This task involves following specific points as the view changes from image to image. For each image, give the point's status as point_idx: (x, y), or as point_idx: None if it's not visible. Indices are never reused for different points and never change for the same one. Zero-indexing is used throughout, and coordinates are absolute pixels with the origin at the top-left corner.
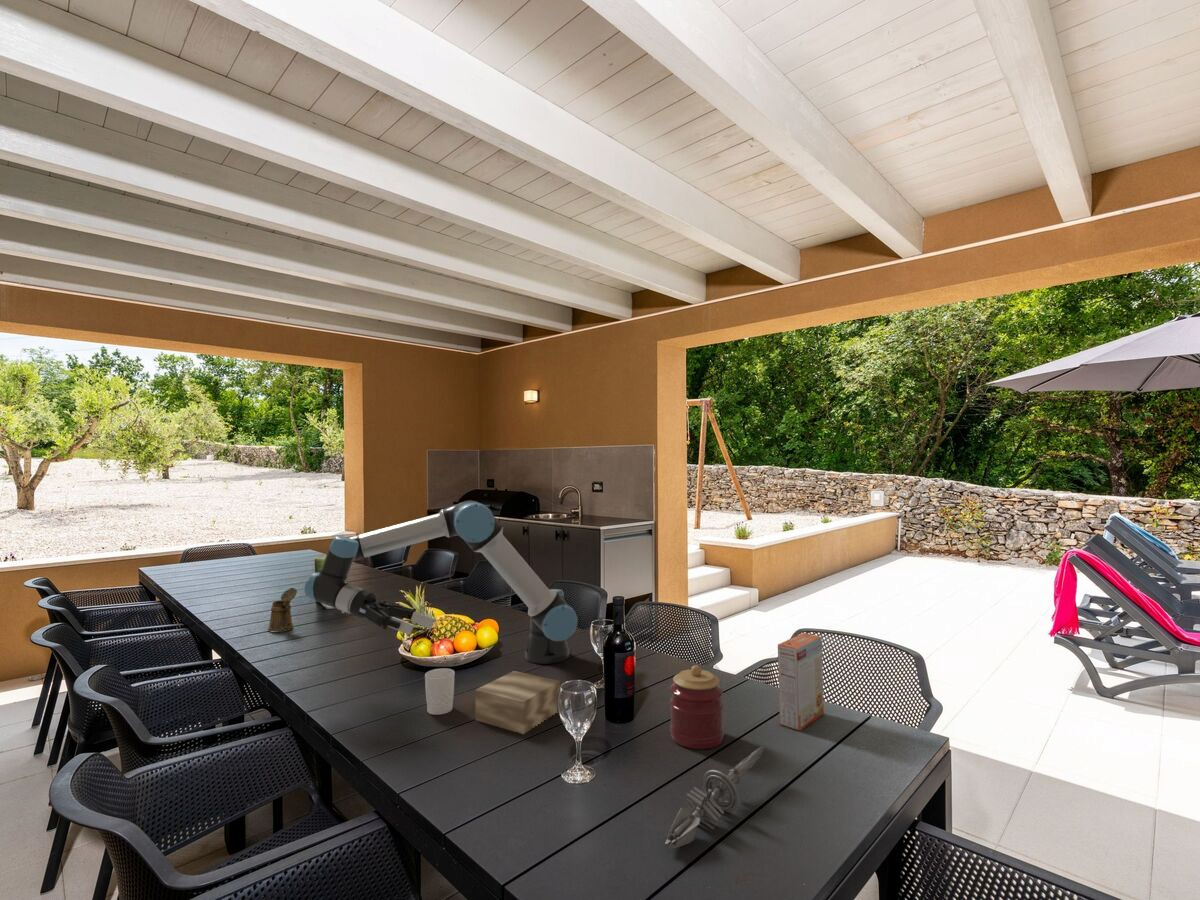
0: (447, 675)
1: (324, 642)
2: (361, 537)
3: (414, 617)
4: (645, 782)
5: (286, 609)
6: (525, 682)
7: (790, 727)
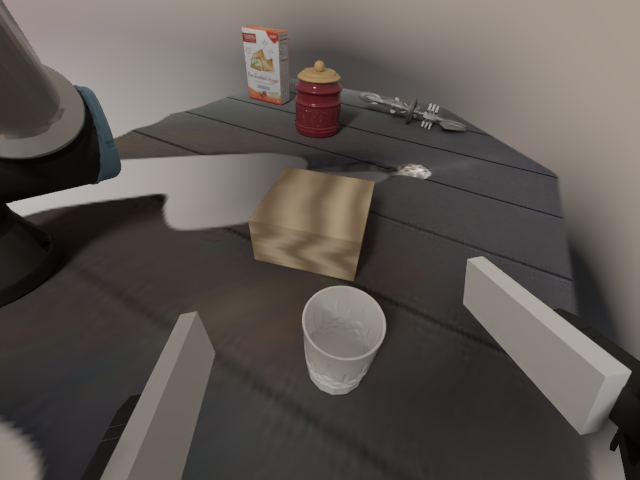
0: (306, 325)
1: None
2: None
3: (161, 469)
4: (399, 144)
5: None
6: (302, 194)
7: (286, 102)
